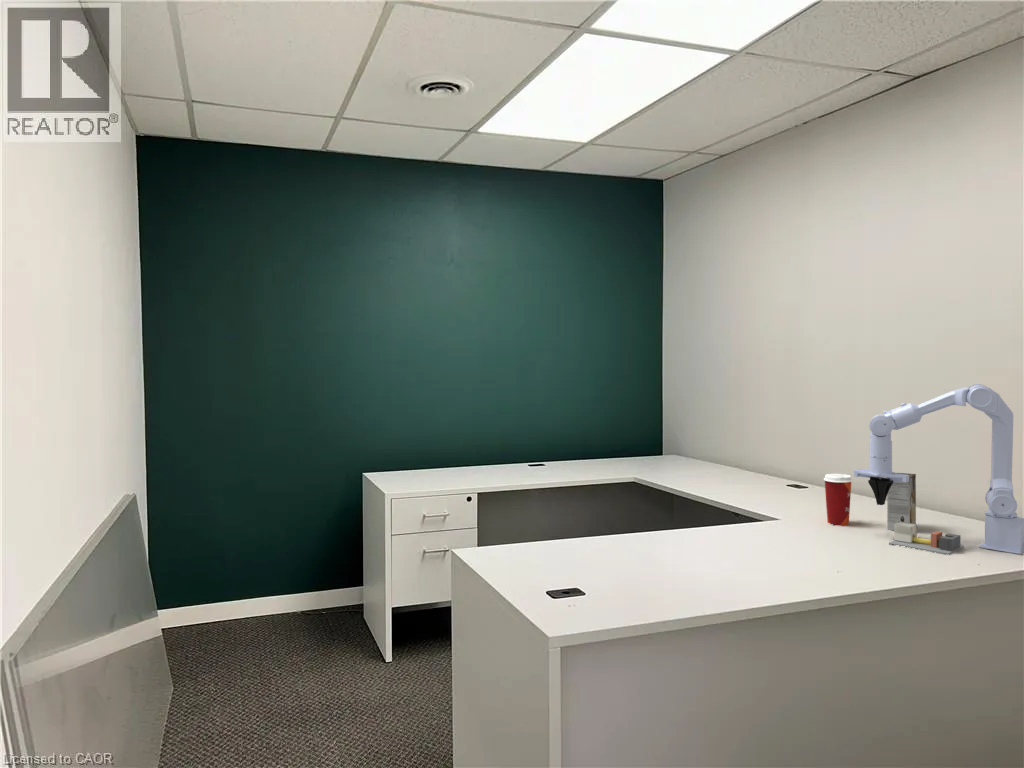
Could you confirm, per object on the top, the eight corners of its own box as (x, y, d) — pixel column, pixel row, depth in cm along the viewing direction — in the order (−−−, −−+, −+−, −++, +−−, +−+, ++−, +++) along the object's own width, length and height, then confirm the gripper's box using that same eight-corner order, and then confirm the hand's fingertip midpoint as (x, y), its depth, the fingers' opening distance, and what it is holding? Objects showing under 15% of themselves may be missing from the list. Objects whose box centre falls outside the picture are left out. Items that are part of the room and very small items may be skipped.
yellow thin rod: (944, 546, 200) (944, 541, 200) (942, 547, 199) (942, 542, 199) (895, 538, 210) (895, 533, 209) (893, 539, 209) (893, 534, 209)
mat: (963, 546, 201) (963, 545, 201) (948, 554, 194) (948, 553, 194) (905, 537, 212) (905, 535, 212) (888, 544, 205) (888, 542, 205)
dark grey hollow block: (960, 547, 199) (960, 535, 199) (951, 551, 195) (951, 539, 195) (944, 544, 202) (944, 532, 202) (935, 548, 198) (935, 536, 198)
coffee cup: (857, 526, 226) (857, 477, 225) (830, 527, 226) (829, 478, 225) (845, 520, 234) (845, 472, 233) (819, 520, 234) (819, 473, 233)
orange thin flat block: (942, 545, 201) (942, 531, 201) (936, 547, 199) (936, 534, 199) (936, 544, 203) (936, 531, 202) (930, 546, 200) (930, 533, 200)
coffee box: (892, 523, 228) (892, 471, 227) (916, 526, 224) (916, 473, 223) (886, 530, 220) (886, 476, 220) (910, 533, 216) (911, 478, 216)
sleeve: (917, 539, 207) (917, 524, 206) (910, 542, 204) (910, 526, 204) (900, 537, 210) (900, 521, 210) (894, 539, 207) (894, 524, 207)
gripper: (848, 456, 214) (849, 502, 215) (901, 461, 203) (901, 510, 203) (860, 453, 218) (860, 499, 219) (912, 458, 207) (912, 506, 208)
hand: (880, 504), depth 212 cm, fingers closed
